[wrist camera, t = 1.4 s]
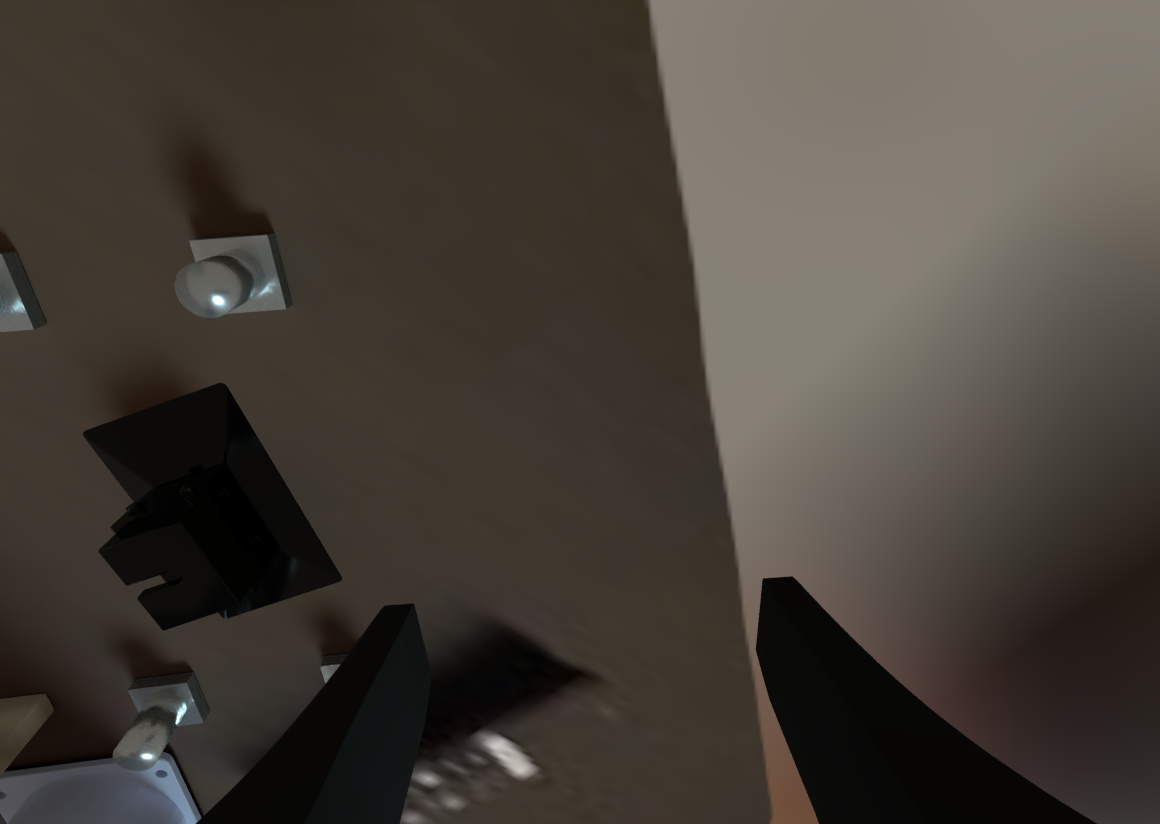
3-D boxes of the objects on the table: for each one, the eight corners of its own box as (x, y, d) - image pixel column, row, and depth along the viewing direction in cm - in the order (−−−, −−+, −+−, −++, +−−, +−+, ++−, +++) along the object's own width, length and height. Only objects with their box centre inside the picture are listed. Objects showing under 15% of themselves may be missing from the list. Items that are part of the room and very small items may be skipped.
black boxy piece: (48, 397, 22) (-65, 454, 18) (236, 331, 22) (167, 374, 17) (231, 642, 27) (178, 734, 22) (386, 591, 27) (361, 674, 22)
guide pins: (389, 688, 28) (375, 747, 25) (154, 718, 27) (114, 781, 24) (274, 232, 20) (235, 245, 17) (-65, 256, 19) (-162, 274, 16)
